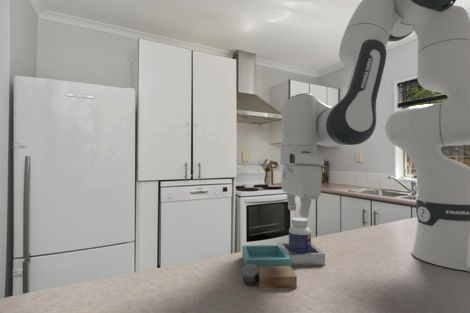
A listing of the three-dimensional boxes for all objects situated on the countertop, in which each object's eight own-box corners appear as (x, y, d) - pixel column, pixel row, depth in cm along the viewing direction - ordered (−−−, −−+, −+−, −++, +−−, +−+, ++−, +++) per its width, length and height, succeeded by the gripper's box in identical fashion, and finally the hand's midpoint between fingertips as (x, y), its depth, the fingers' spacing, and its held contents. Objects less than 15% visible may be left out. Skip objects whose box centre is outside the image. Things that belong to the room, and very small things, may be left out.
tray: (280, 256, 65) (280, 244, 65) (291, 273, 55) (291, 258, 55) (242, 257, 64) (242, 245, 64) (246, 274, 54) (246, 260, 54)
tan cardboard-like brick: (289, 278, 53) (289, 266, 53) (296, 289, 48) (296, 276, 48) (256, 278, 53) (256, 266, 53) (260, 290, 48) (260, 277, 48)
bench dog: (256, 278, 52) (256, 263, 52) (259, 285, 49) (259, 269, 49) (242, 279, 52) (242, 264, 52) (243, 286, 49) (243, 270, 49)
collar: (310, 251, 68) (310, 242, 68) (325, 264, 59) (325, 254, 59) (277, 252, 68) (277, 242, 68) (287, 265, 59) (287, 254, 59)
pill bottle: (312, 263, 60) (311, 221, 61) (289, 261, 61) (288, 220, 62) (310, 255, 66) (309, 217, 66) (288, 253, 67) (288, 216, 67)
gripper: (276, 159, 75) (275, 207, 74) (298, 155, 54) (297, 221, 54) (297, 160, 75) (297, 207, 74) (327, 156, 55) (326, 221, 54)
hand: (297, 213), depth 64 cm, fingers open, 8 cm apart
